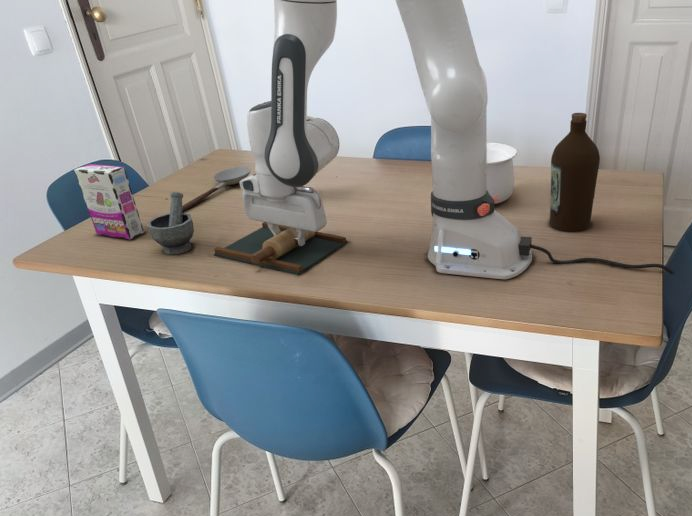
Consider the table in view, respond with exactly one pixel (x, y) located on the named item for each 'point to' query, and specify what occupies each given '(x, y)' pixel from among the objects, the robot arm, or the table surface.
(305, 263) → the chalkboard
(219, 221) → the table surface
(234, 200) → the table surface
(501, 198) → the pot
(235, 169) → the spoon
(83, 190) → the candy bar box
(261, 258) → the rolling pin
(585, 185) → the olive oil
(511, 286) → the table surface
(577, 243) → the table surface
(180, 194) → the mortar and pestle
